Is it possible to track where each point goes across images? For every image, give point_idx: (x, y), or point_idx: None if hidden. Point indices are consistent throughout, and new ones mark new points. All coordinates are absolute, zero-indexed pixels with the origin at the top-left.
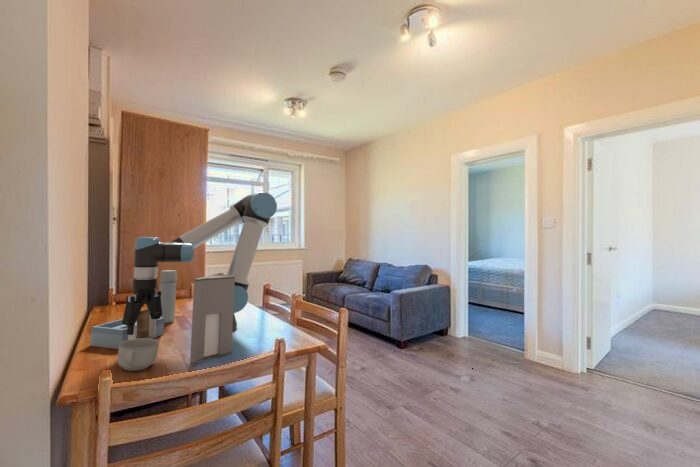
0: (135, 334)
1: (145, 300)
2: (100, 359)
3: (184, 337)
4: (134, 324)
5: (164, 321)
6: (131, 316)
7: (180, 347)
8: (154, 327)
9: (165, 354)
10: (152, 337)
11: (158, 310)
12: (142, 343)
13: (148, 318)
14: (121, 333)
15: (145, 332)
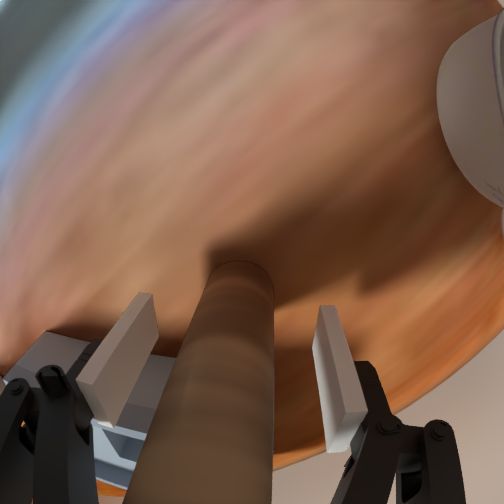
0: (340, 349)
1: None
2: (408, 345)
3: (22, 209)
4: (374, 422)
5: (3, 385)
6: (438, 494)
7: (148, 85)
8: (123, 337)
9: (295, 77)
10: None
11: (15, 436)
12: (495, 148)
13: (190, 433)
14: (273, 436)
15: (244, 330)
